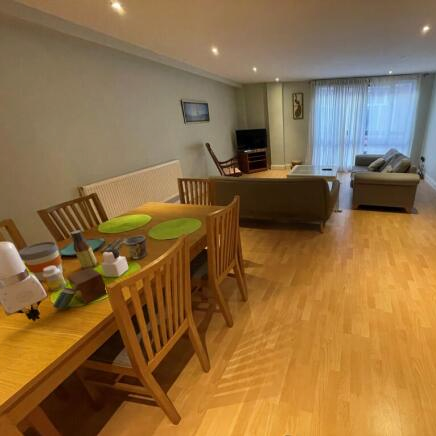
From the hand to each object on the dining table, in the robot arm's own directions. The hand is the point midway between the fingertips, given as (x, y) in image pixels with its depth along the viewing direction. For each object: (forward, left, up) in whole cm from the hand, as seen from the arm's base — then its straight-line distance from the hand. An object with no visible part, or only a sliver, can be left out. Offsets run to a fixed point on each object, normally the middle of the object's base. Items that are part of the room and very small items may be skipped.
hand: (35, 318), depth 88 cm
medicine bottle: (+31, +8, -2) cm, 32 cm away
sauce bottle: (+27, +26, -2) cm, 38 cm away
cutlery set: (+37, +46, -2) cm, 59 cm away
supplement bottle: (+12, +19, -2) cm, 23 cm away
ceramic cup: (+45, +13, -2) cm, 47 cm away
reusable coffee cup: (+14, +34, -2) cm, 37 cm away
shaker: (+9, 0, +2) cm, 10 cm away
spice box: (+17, 0, -2) cm, 17 cm away
